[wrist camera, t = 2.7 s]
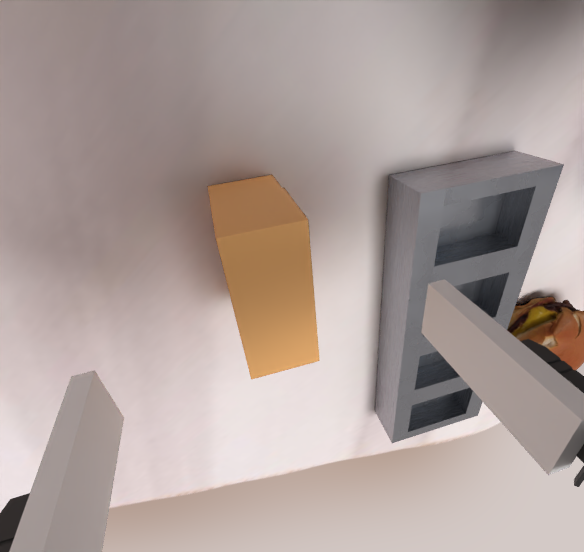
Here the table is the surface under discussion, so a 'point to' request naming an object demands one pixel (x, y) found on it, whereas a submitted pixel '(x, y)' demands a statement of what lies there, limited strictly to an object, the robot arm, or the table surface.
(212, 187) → the orange bridge block
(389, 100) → the table surface
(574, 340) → the burger
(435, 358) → the grey compartment tray
